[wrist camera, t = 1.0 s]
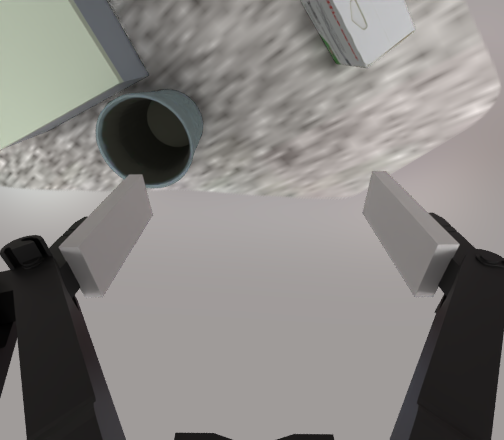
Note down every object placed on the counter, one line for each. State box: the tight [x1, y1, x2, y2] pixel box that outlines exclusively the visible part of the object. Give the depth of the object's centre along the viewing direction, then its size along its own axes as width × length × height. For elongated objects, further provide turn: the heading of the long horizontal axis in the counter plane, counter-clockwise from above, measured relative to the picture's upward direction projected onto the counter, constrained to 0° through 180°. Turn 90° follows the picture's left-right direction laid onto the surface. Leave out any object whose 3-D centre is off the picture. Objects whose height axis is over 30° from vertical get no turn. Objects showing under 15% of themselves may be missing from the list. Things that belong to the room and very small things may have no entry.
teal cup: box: [96, 90, 203, 188], centre depth 34 cm, size 10×10×12 cm
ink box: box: [301, 0, 416, 68], centre depth 27 cm, size 9×5×12 cm, turn 38°
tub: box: [8, 0, 149, 147], centre depth 32 cm, size 12×18×8 cm, turn 114°
